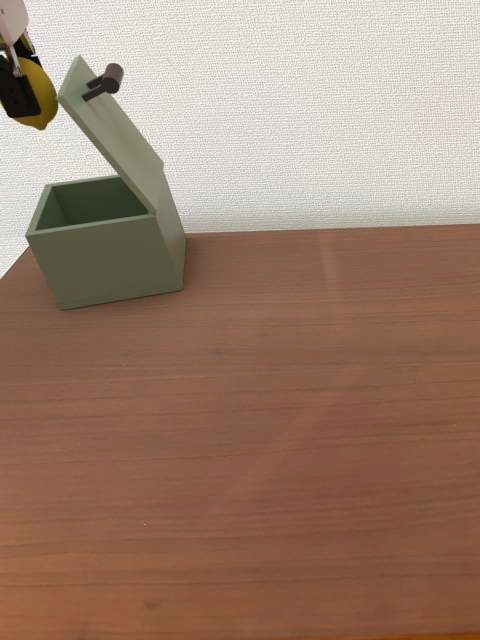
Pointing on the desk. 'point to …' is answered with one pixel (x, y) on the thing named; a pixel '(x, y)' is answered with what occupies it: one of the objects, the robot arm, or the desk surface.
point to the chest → (106, 242)
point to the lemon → (39, 95)
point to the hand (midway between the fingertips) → (30, 103)
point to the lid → (112, 128)
